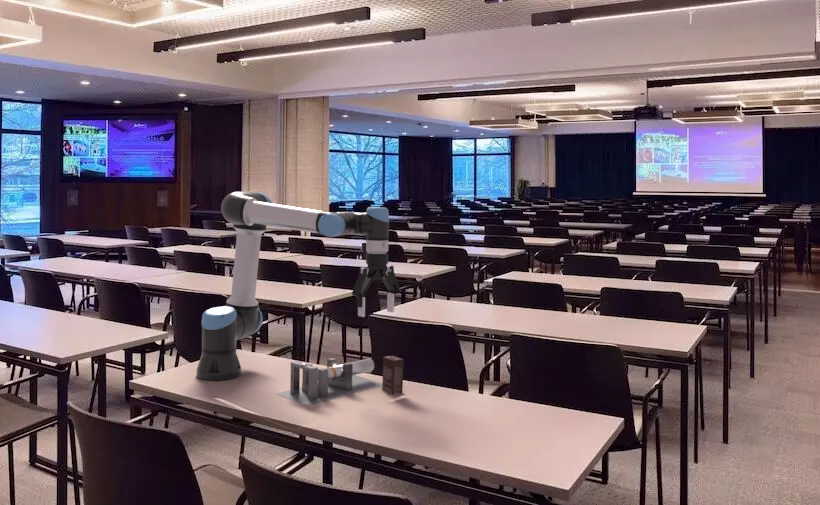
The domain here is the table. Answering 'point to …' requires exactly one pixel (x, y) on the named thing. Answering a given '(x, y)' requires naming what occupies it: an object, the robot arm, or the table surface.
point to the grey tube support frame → (346, 381)
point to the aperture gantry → (311, 383)
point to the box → (392, 375)
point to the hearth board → (332, 391)
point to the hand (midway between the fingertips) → (376, 314)
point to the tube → (357, 368)
